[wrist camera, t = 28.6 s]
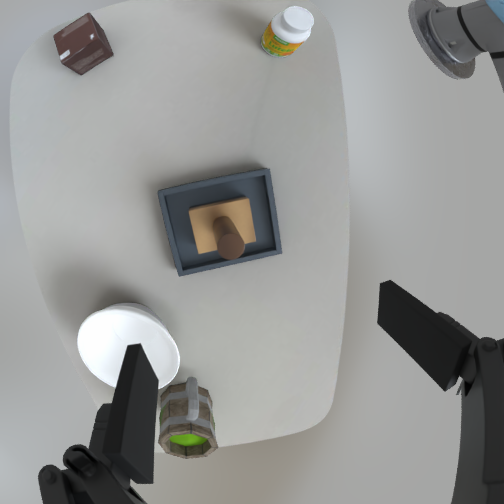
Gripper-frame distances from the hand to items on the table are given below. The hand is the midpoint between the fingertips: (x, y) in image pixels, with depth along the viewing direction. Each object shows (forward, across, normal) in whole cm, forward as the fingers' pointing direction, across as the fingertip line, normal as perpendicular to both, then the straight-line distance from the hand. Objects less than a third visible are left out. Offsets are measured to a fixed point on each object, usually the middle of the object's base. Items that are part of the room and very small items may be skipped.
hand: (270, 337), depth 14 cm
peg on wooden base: (+28, 0, 0) cm, 28 cm away
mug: (+29, -14, -32) cm, 45 cm away
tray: (+29, 0, 0) cm, 29 cm away
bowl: (+29, -18, -14) cm, 37 cm away
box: (+29, -15, +31) cm, 45 cm away
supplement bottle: (+29, +13, +26) cm, 41 cm away
